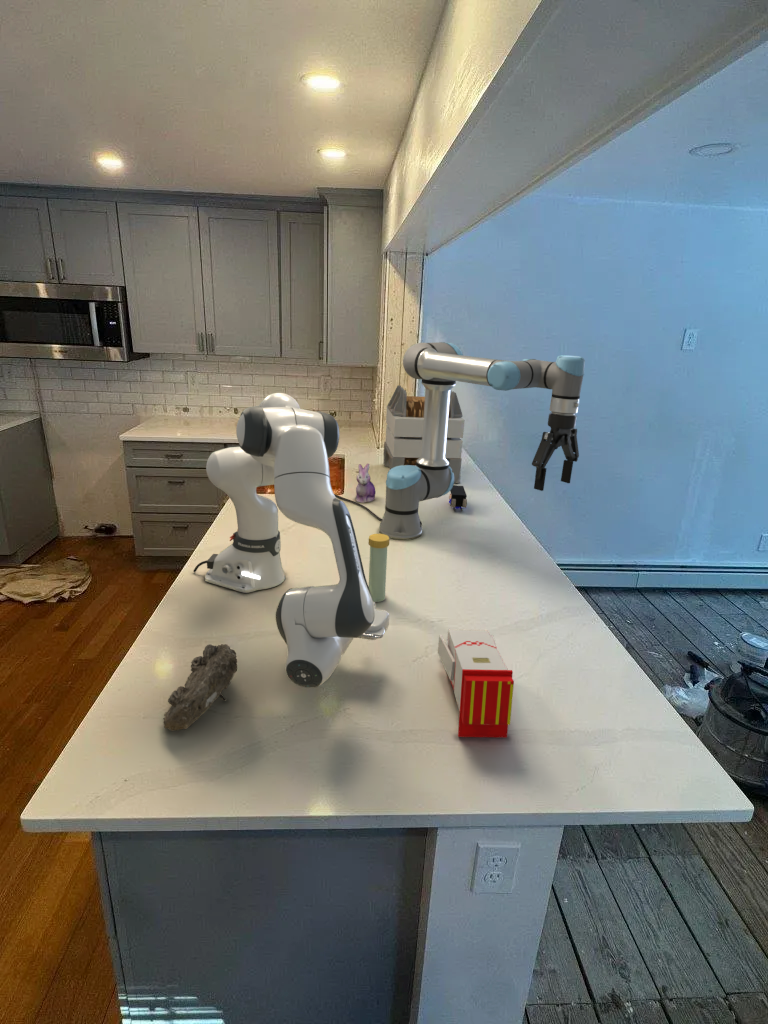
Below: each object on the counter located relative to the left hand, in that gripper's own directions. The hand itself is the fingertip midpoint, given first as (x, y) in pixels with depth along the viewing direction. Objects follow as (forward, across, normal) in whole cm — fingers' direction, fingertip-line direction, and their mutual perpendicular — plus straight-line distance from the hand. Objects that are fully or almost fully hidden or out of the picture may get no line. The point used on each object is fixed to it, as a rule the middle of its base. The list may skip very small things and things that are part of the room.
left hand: (352, 601), depth 130 cm
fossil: (-28, +21, +11) cm, 37 cm away
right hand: (+55, -43, -17) cm, 72 cm away
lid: (+23, 0, -7) cm, 24 cm away
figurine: (+103, +27, +10) cm, 106 cm away
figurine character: (+107, -11, +10) cm, 108 cm away
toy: (-10, -29, +12) cm, 33 cm away
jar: (+24, 0, +11) cm, 26 cm away
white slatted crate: (+151, +13, +10) cm, 152 cm away
